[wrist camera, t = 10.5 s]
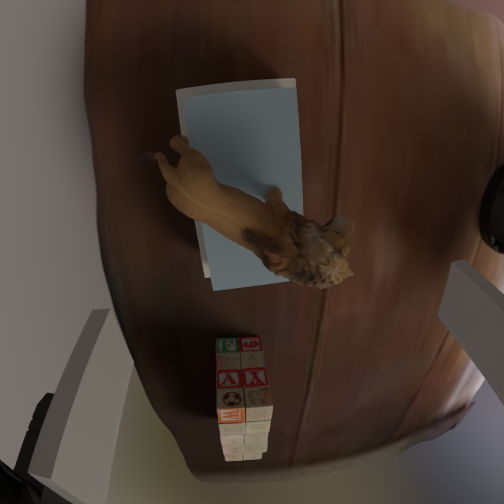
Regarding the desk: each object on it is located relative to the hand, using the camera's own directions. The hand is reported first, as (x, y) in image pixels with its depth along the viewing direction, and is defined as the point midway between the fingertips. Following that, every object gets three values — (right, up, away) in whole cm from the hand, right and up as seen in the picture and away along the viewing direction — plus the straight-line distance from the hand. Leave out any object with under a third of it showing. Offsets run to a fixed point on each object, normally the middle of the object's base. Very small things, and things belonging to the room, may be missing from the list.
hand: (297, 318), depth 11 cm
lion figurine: (-3, +7, +12) cm, 14 cm away
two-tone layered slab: (-3, +11, +21) cm, 23 cm away
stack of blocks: (-4, -18, +36) cm, 40 cm away
